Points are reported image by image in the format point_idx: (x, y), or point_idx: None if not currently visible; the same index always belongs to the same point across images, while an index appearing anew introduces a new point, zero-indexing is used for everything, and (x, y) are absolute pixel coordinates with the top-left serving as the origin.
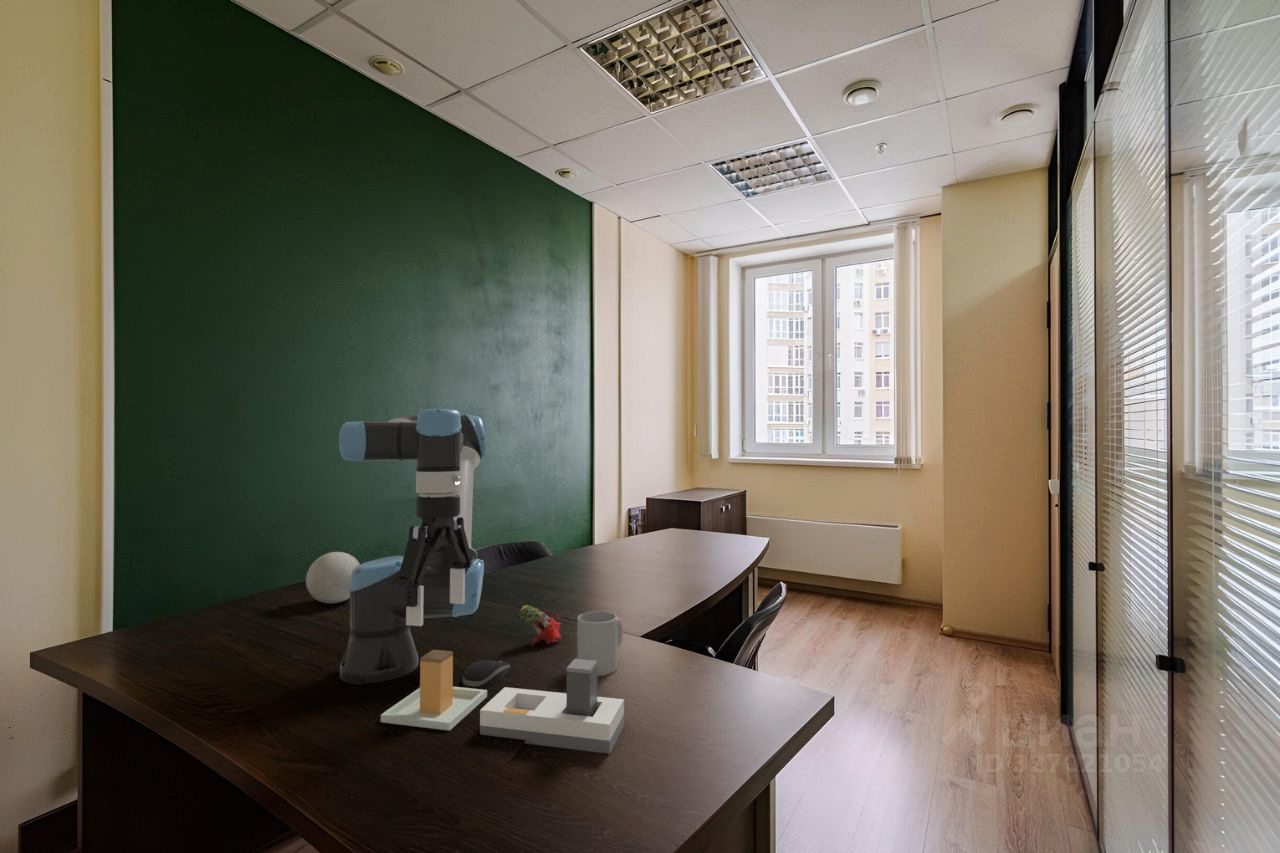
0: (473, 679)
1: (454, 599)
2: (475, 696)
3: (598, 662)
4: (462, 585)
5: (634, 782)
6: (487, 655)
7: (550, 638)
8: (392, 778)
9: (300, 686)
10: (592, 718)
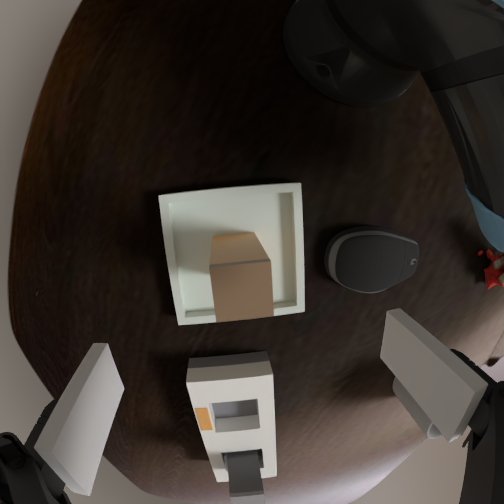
0: (337, 265)
1: (392, 336)
2: (276, 308)
3: (400, 399)
4: (414, 397)
5: (185, 476)
6: (449, 200)
7: (488, 277)
8: (73, 312)
9: None
10: (223, 472)
